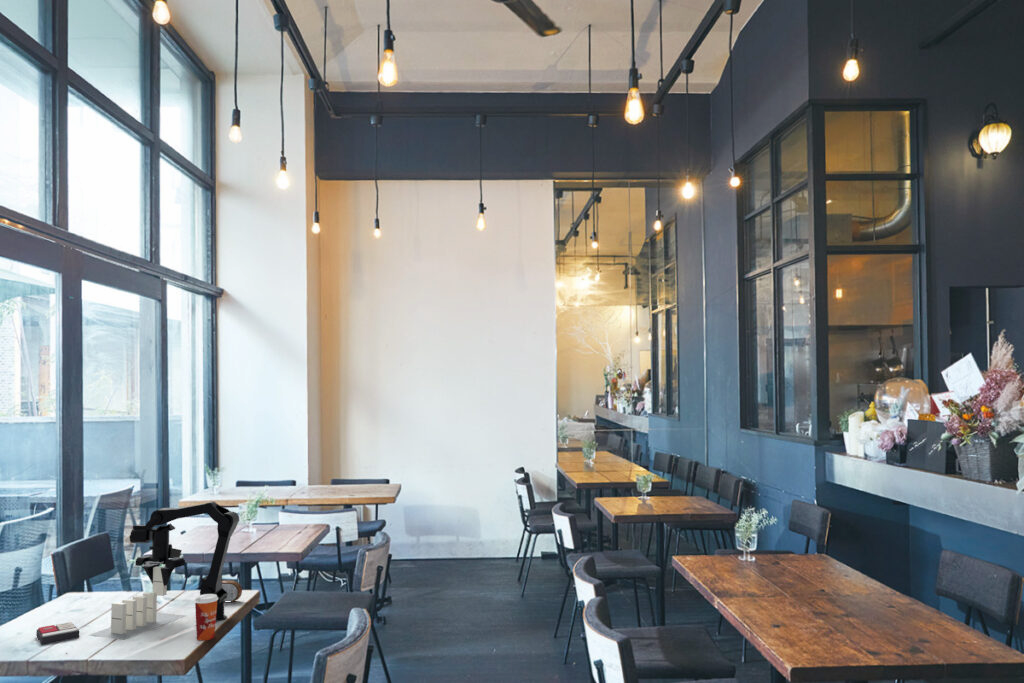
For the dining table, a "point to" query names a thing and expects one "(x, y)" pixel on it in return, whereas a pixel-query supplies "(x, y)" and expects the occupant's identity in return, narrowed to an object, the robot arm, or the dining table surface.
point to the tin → (232, 590)
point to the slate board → (139, 627)
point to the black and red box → (57, 633)
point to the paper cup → (206, 616)
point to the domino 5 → (158, 582)
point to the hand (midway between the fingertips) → (159, 585)
